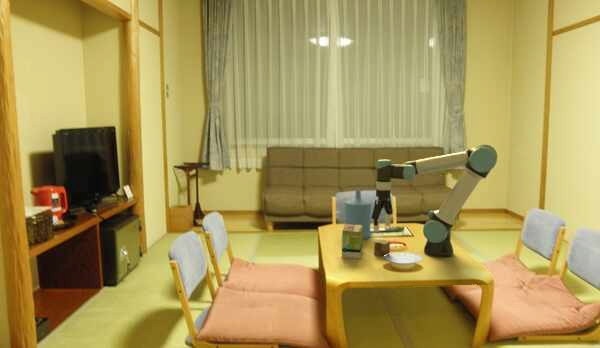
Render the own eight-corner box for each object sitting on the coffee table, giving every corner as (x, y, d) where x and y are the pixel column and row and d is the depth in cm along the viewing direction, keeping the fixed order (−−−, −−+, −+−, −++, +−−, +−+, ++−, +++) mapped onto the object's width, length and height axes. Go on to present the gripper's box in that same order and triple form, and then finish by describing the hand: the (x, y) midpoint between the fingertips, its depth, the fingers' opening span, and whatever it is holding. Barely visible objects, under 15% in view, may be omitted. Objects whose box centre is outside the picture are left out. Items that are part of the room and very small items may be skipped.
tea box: (360, 259, 252) (361, 231, 250) (341, 258, 254) (341, 230, 252) (362, 250, 266) (363, 224, 264) (344, 249, 268) (344, 223, 266)
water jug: (368, 240, 286) (369, 193, 282) (342, 238, 290) (342, 192, 286) (372, 233, 301) (372, 188, 297) (346, 232, 305) (347, 187, 301)
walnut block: (389, 253, 261) (390, 241, 260) (384, 256, 256) (384, 243, 255) (379, 252, 264) (379, 239, 263) (374, 254, 259) (374, 242, 258)
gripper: (387, 185, 267) (385, 222, 270) (365, 191, 247) (364, 232, 250) (399, 186, 263) (398, 224, 266) (379, 193, 243) (377, 234, 246)
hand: (382, 228), depth 258 cm, fingers open, 13 cm apart
